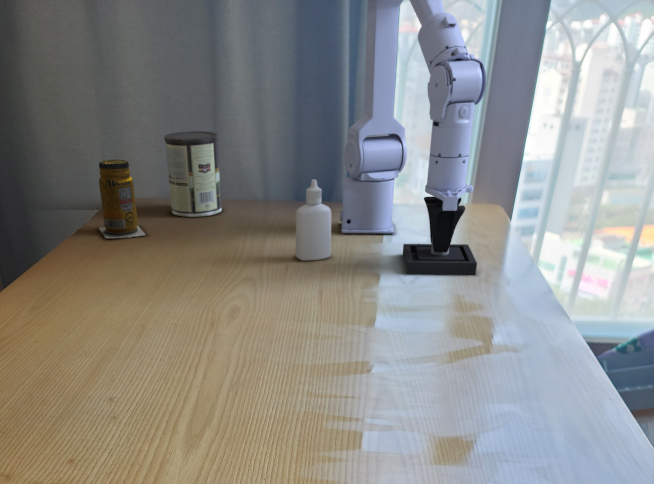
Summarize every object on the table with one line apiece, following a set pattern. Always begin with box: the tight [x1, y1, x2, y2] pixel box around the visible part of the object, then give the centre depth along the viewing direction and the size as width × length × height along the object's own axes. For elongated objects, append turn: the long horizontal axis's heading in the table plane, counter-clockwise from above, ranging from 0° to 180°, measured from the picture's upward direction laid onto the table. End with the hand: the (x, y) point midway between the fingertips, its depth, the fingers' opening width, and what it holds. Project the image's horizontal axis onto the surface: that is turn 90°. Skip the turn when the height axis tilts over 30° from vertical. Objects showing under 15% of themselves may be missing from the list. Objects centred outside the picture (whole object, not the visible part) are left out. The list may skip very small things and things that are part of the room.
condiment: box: [98, 159, 146, 239], centre depth 135 cm, size 7×8×12 cm
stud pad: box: [415, 241, 465, 261], centre depth 118 cm, size 7×7×5 cm
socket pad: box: [402, 243, 478, 276], centre depth 119 cm, size 10×10×2 cm
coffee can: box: [163, 130, 223, 218], centre depth 148 cm, size 10×10×14 cm
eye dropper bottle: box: [295, 179, 332, 262], centre depth 120 cm, size 4×6×12 cm
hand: (439, 248), depth 118 cm, fingers open, 3 cm apart
